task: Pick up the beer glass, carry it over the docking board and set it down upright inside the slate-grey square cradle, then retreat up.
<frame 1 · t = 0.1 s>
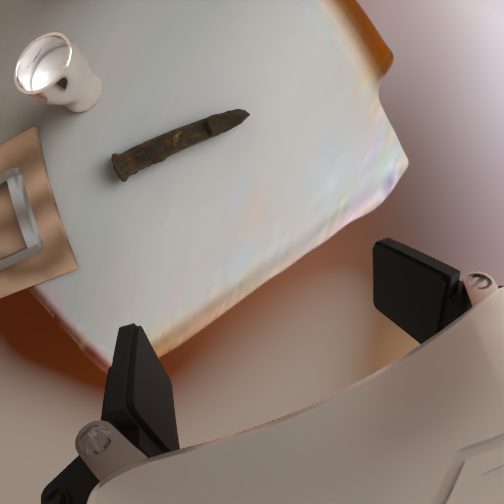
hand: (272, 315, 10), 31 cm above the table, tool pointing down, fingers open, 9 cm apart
glass dock: (6, 220, 30), on the table
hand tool: (180, 136, 36), on the table
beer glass: (83, 92, 29), on the table
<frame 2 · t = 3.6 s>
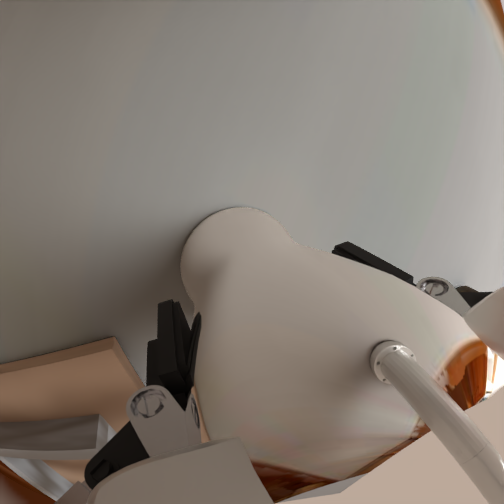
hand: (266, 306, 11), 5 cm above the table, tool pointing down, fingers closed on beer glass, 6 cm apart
glass dock: (83, 452, 17), on the table
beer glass: (237, 262, 15), on the table, touching gripper
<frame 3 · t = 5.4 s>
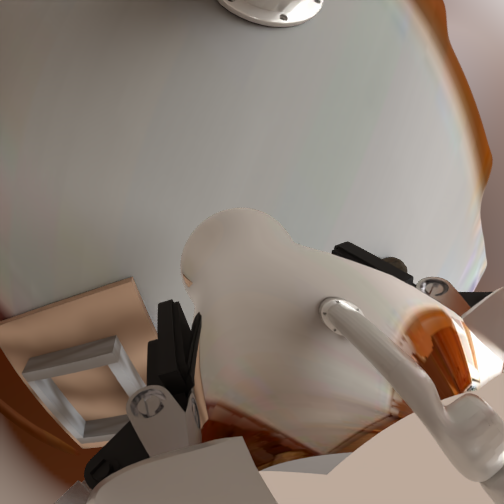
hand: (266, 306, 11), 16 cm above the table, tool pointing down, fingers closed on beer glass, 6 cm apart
glass dock: (97, 382, 27), on the table
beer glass: (237, 263, 15), point 11 cm above the table, touching gripper
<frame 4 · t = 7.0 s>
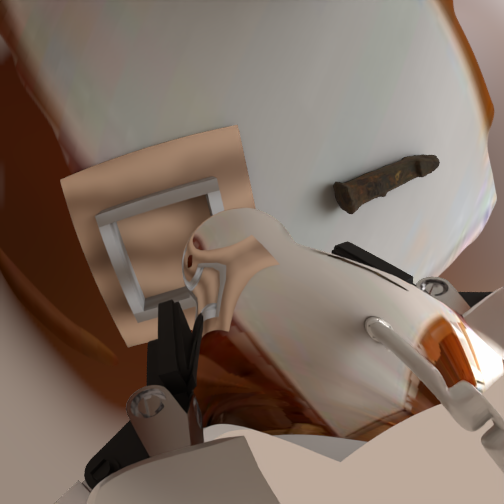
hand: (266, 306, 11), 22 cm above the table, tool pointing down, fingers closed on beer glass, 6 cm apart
glass dock: (171, 243, 31), on the table
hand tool: (382, 169, 36), on the table
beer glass: (238, 263, 15), point 17 cm above the table, touching gripper
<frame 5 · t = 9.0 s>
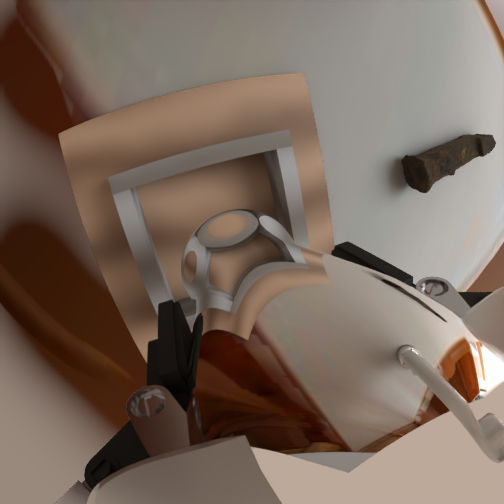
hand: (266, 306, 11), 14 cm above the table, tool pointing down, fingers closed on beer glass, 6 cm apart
glass dock: (213, 224, 23), on the table
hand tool: (443, 147, 28), on the table
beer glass: (238, 264, 15), point 9 cm above the table, touching gripper
when the fingers open (7 cm above the table, at t = 10.7 s): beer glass drops 1 cm, resting on glass dock.
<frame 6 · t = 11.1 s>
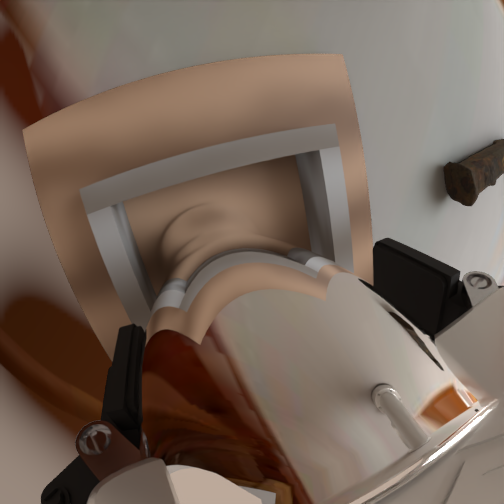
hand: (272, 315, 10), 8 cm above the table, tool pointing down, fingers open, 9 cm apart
glass dock: (227, 247, 18), on the table
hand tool: (479, 153, 23), on the table
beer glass: (211, 254, 16), point 1 cm above the table, touching glass dock, gripper
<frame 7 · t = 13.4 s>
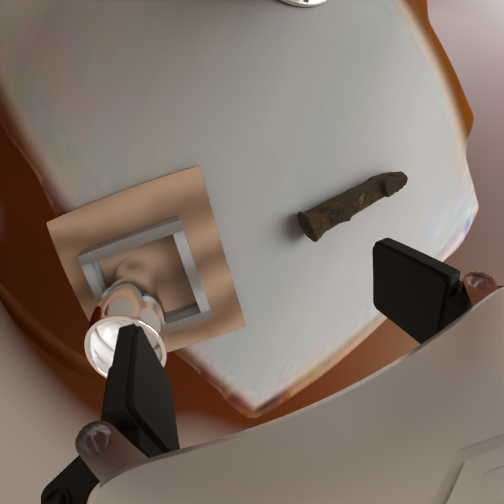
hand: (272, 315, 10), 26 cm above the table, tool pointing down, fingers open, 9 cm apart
glass dock: (147, 276, 34), on the table
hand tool: (349, 192, 39), on the table
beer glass: (138, 280, 33), point 1 cm above the table, touching glass dock
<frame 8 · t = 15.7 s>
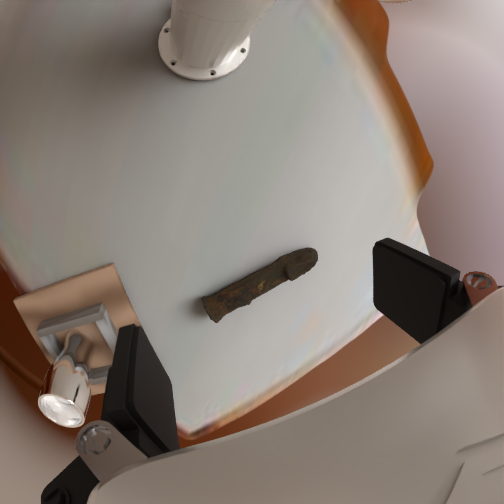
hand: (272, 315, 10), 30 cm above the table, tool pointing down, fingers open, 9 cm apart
glass dock: (89, 339, 39), on the table
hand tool: (256, 272, 44), on the table
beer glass: (81, 343, 38), point 1 cm above the table, touching glass dock
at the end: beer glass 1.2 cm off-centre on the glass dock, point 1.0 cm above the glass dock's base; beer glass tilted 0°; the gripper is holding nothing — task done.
